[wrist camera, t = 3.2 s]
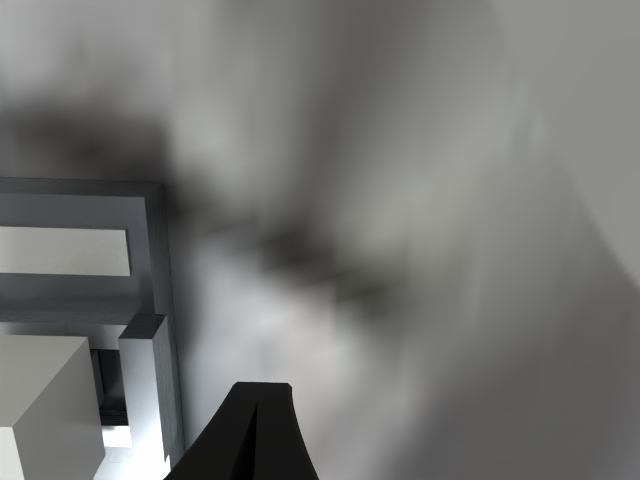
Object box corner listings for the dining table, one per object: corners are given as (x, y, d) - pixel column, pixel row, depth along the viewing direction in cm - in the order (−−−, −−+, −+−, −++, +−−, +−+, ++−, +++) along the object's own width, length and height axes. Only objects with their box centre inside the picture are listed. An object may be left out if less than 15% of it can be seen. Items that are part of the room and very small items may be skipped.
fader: (104, 317, 12) (12, 427, 8) (119, 429, 13) (45, 567, 10) (9, 314, 12) (-126, 424, 8) (33, 427, 13) (-75, 566, 10)
